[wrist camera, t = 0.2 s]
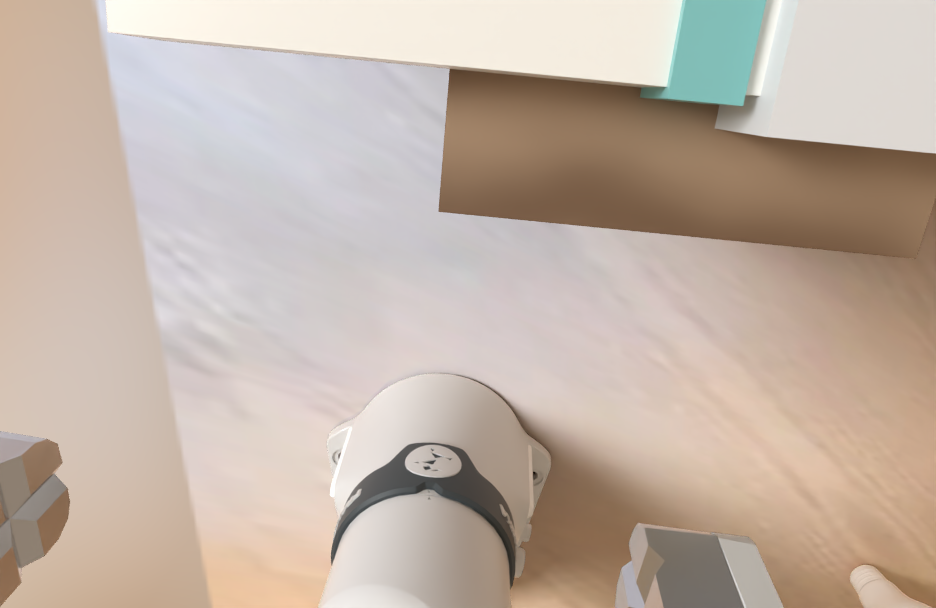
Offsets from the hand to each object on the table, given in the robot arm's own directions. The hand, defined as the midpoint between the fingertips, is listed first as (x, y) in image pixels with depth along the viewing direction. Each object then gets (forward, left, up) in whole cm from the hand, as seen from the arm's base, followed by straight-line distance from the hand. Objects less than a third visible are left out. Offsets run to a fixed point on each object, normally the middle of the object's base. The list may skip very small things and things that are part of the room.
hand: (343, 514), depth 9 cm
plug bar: (+8, -2, -14) cm, 16 cm away
